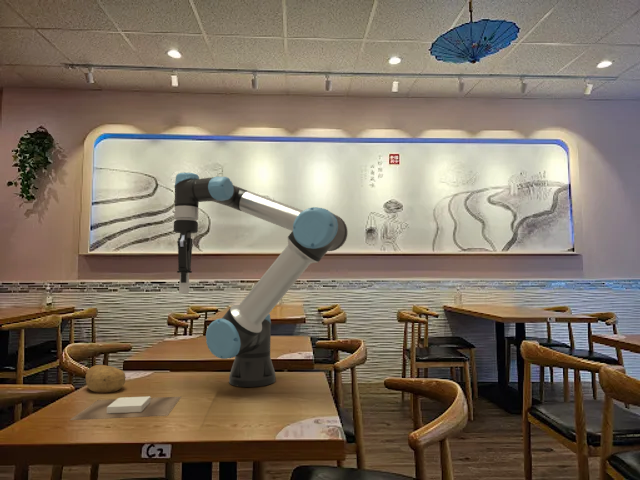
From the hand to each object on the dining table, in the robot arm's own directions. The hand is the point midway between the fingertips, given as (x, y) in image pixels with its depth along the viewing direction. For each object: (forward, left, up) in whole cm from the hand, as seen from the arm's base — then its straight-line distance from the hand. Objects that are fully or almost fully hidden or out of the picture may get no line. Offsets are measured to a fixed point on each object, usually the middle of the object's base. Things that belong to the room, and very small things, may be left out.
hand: (183, 293), depth 130 cm
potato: (+21, +4, -30) cm, 37 cm away
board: (+8, +23, -29) cm, 38 cm away
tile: (+8, +20, -27) cm, 35 cm away
